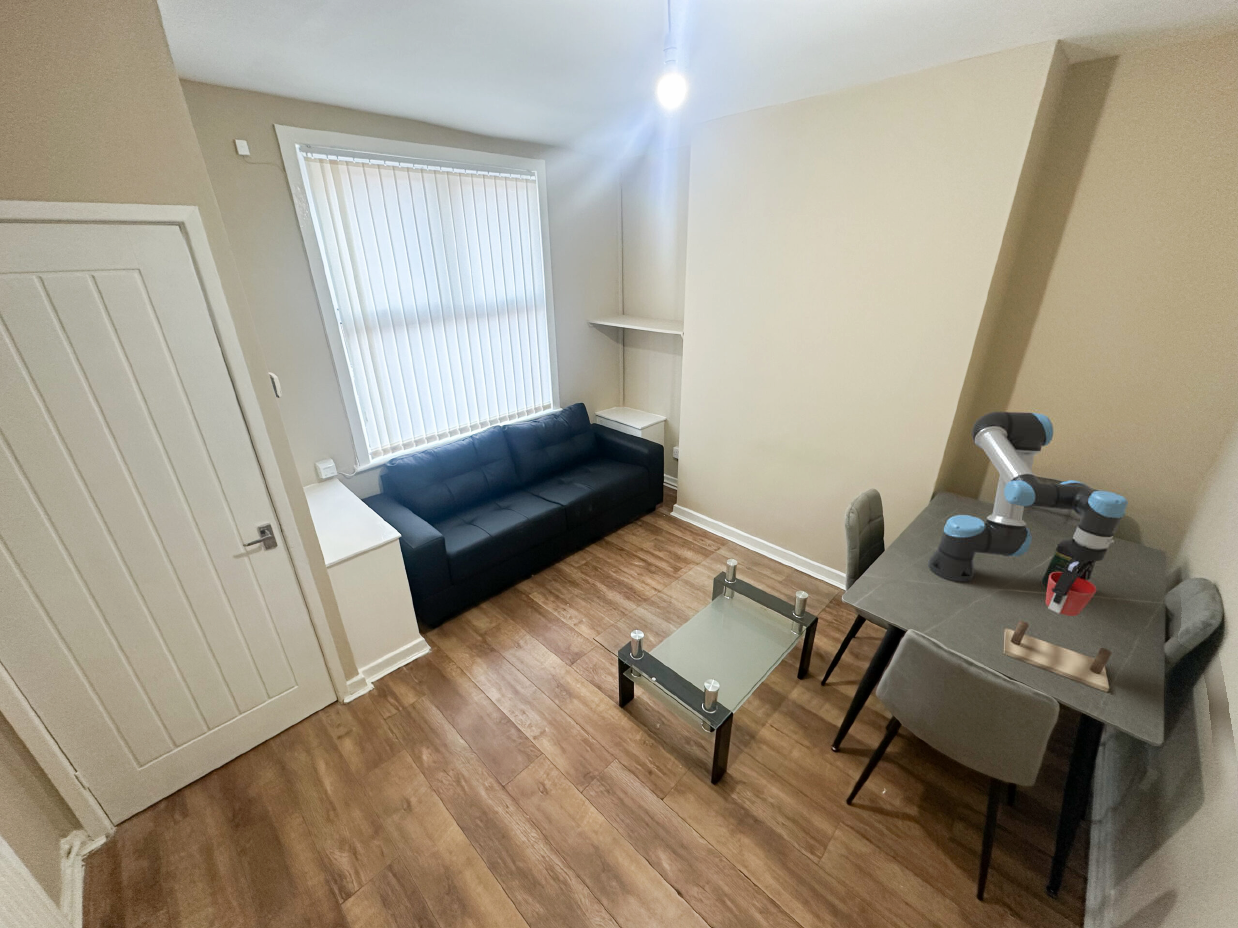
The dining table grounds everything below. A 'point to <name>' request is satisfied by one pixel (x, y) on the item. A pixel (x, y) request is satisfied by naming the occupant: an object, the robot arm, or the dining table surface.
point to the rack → (1057, 658)
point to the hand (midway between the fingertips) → (1062, 604)
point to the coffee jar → (1059, 560)
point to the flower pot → (1071, 594)
